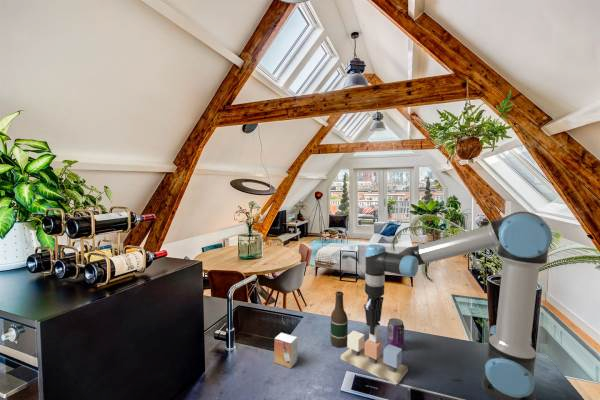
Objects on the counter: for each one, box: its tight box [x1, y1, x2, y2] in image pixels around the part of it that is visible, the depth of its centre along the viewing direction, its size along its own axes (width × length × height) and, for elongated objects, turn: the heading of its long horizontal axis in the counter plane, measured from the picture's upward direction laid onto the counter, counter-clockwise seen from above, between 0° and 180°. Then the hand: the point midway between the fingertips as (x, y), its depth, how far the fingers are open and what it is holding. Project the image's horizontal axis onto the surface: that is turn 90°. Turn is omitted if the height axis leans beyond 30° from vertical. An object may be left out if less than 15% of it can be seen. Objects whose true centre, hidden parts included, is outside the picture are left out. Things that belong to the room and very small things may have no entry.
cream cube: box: [346, 330, 366, 352], centre depth 120 cm, size 5×5×5 cm
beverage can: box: [386, 317, 405, 350], centre depth 127 cm, size 7×7×12 cm
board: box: [340, 347, 409, 384], centre depth 115 cm, size 24×11×6 cm, turn 49°
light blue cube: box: [382, 344, 403, 368], centre depth 110 cm, size 5×5×5 cm
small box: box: [273, 332, 298, 369], centre depth 116 cm, size 8×6×10 cm
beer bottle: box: [330, 290, 349, 349], centre depth 130 cm, size 8×8×24 cm
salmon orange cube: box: [364, 338, 383, 360], centre depth 115 cm, size 5×5×5 cm
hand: (373, 340), depth 115 cm, fingers closed
